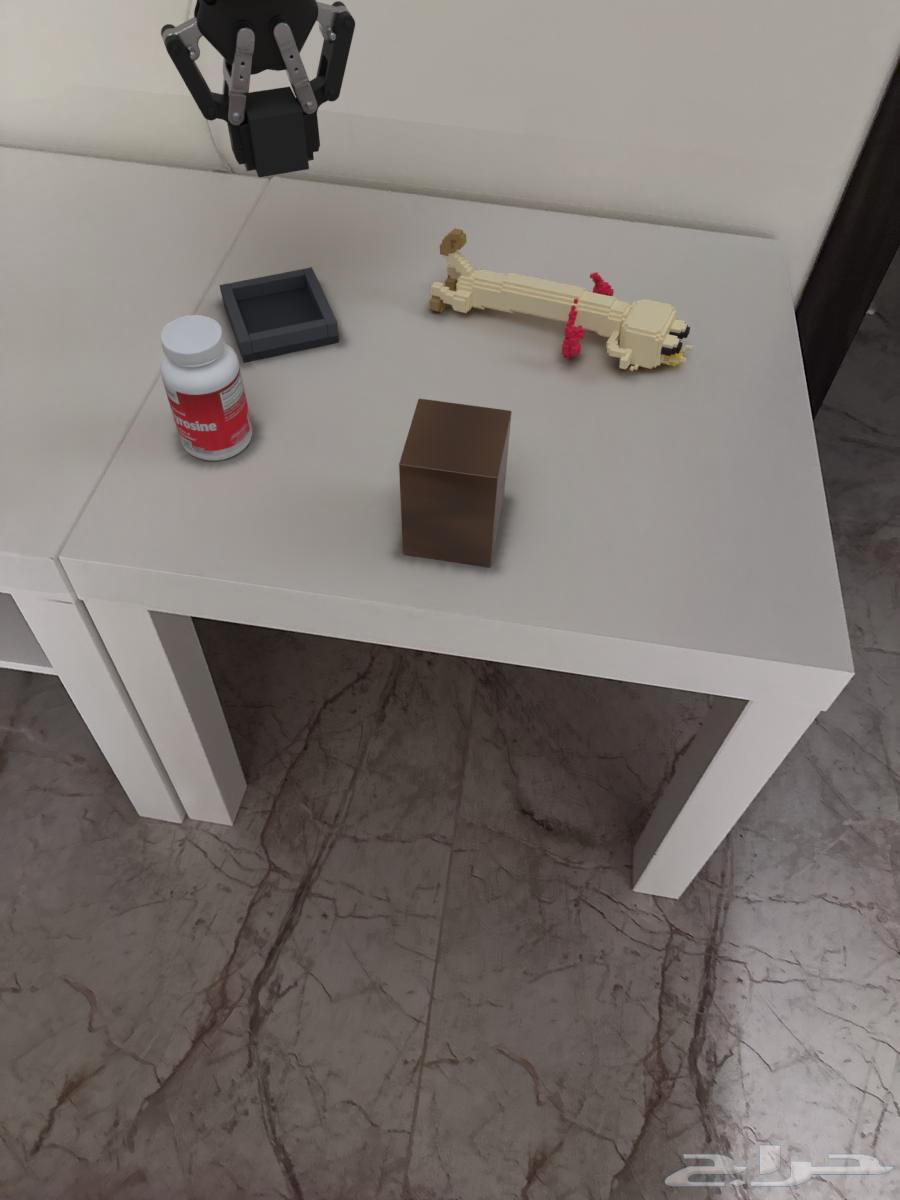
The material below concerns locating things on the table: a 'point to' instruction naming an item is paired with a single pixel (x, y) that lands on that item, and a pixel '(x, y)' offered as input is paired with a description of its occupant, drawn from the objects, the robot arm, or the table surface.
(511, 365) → the table surface
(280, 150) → the black block
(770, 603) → the table surface
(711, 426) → the table surface
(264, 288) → the dark open tray
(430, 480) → the riser
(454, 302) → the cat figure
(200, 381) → the pill bottle
